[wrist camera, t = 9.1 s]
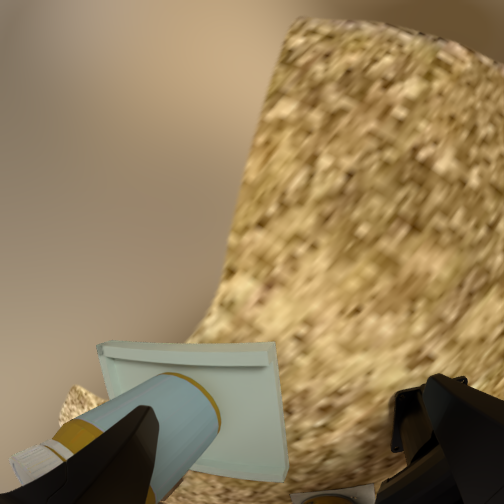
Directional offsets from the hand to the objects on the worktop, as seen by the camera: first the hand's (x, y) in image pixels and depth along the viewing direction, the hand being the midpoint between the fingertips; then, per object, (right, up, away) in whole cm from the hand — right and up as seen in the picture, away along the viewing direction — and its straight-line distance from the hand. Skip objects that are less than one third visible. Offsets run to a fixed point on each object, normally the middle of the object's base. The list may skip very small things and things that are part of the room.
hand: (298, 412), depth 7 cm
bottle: (-7, -8, +13) cm, 16 cm away
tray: (-6, -9, +15) cm, 19 cm away
